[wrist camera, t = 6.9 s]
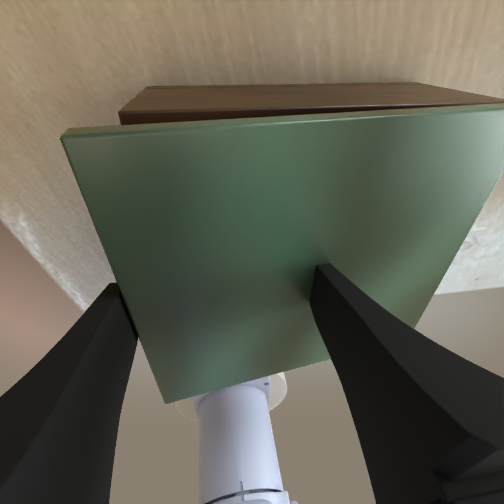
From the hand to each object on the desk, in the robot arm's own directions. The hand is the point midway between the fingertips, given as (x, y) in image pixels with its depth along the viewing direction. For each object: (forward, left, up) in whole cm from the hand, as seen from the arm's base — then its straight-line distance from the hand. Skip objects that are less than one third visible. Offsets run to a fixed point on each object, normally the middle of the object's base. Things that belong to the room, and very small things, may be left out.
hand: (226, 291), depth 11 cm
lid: (0, -4, -1) cm, 4 cm away
